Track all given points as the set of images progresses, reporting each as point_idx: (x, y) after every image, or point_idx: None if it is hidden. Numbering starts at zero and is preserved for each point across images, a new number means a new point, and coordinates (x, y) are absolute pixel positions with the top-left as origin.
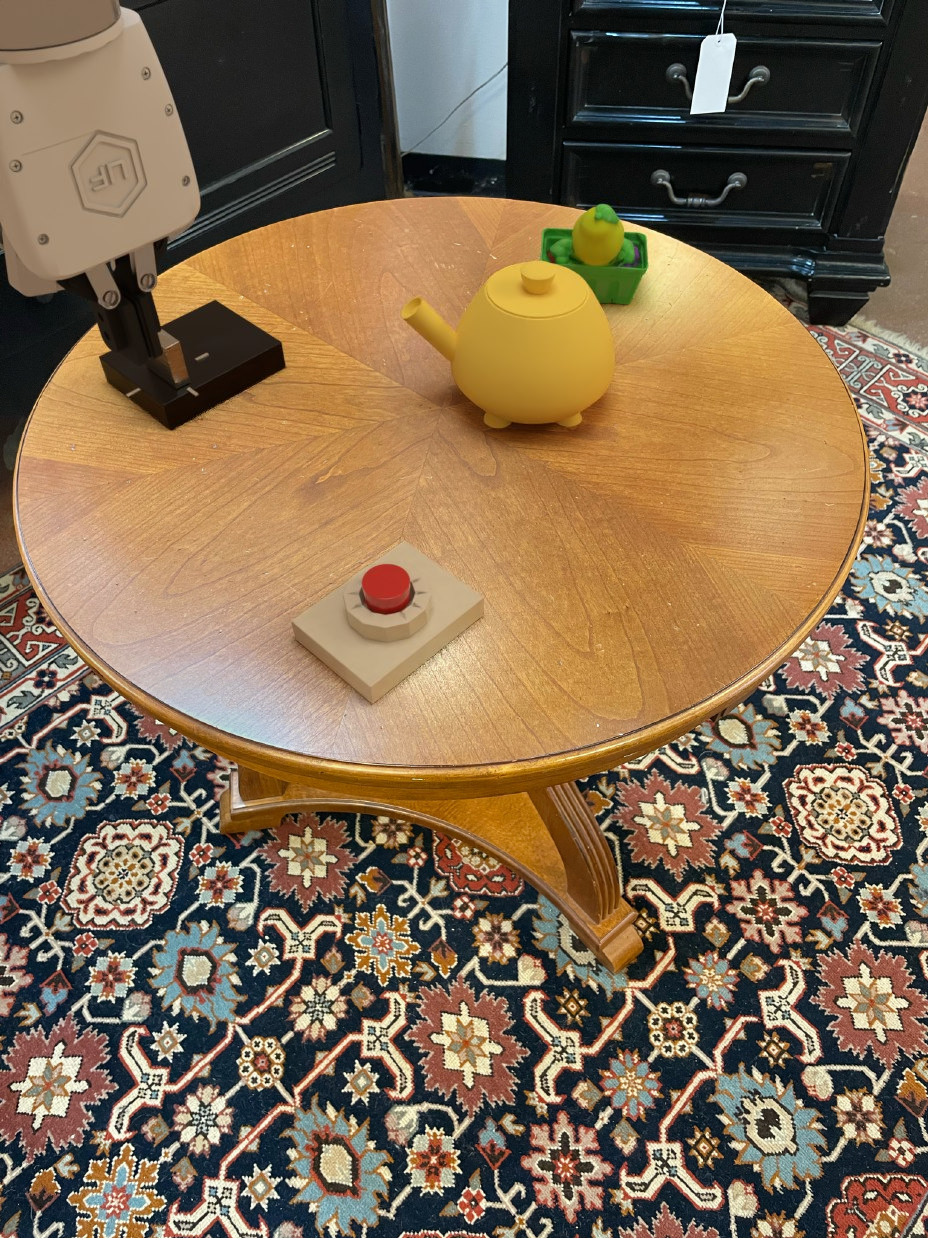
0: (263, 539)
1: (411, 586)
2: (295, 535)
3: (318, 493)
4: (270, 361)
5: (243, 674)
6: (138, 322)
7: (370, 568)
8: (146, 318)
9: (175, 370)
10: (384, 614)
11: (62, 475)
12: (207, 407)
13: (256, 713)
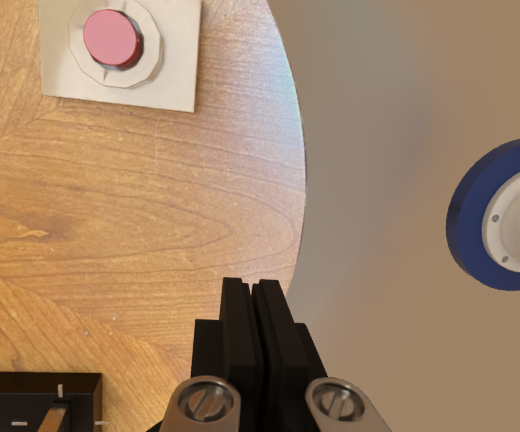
0: (133, 217)
1: None
2: (109, 199)
3: (56, 222)
4: None
5: (248, 120)
6: (265, 330)
7: (102, 79)
8: (245, 327)
9: (57, 417)
10: None
11: None
12: (57, 374)
13: (269, 82)
